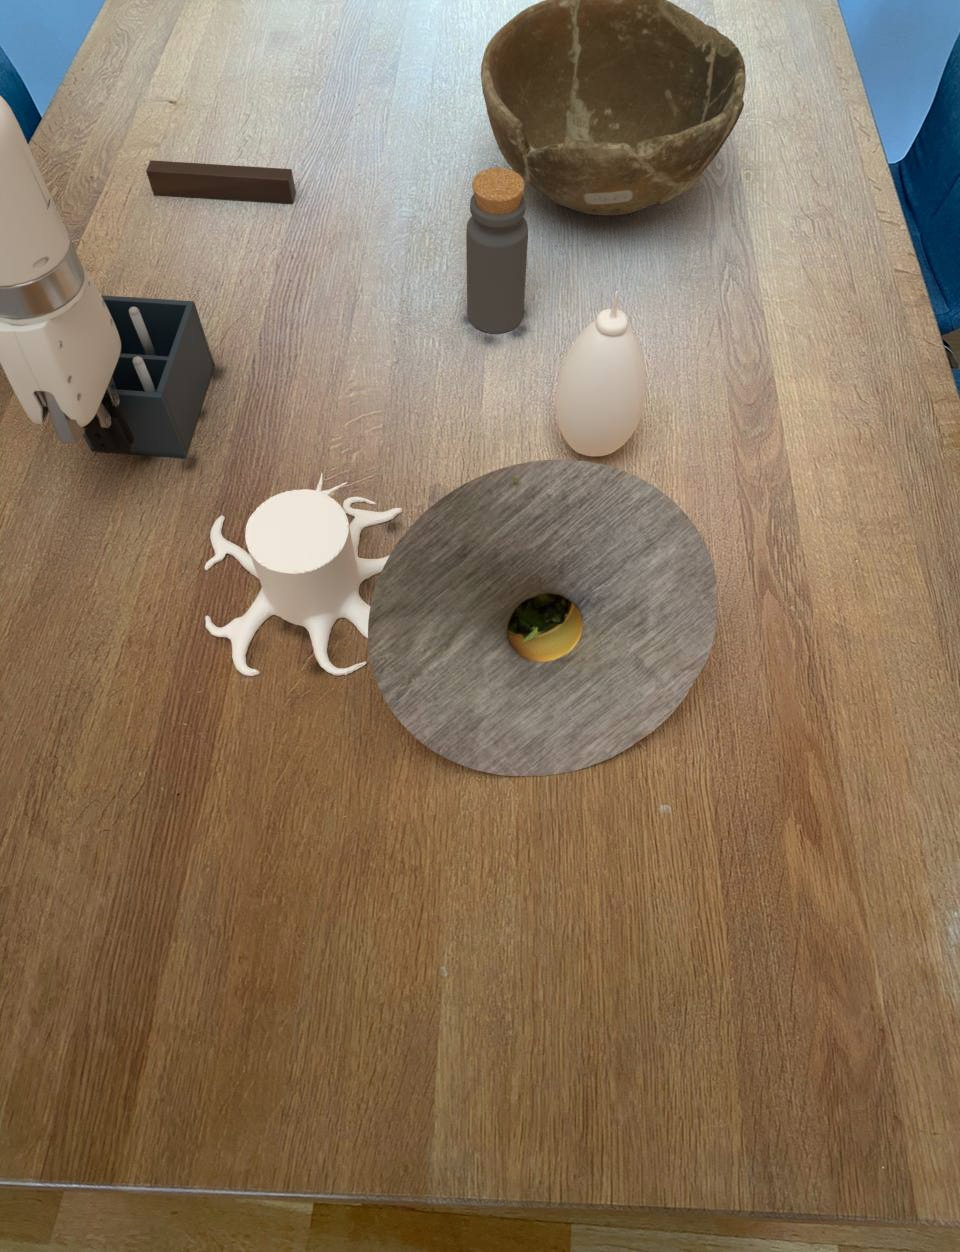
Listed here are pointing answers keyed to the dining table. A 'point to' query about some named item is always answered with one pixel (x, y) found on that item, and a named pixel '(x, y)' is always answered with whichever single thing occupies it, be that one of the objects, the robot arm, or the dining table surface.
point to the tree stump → (302, 568)
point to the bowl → (611, 100)
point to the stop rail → (221, 181)
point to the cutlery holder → (160, 372)
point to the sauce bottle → (601, 386)
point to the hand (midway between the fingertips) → (115, 445)
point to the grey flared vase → (542, 618)
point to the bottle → (496, 251)
